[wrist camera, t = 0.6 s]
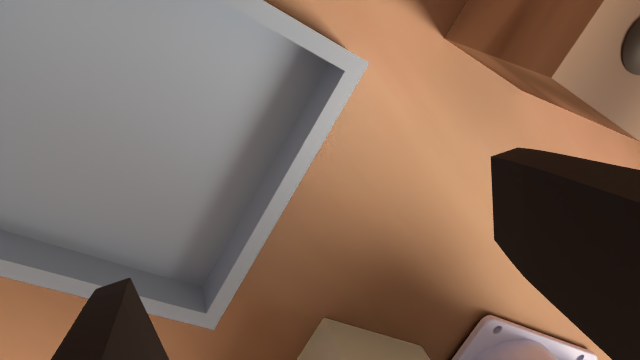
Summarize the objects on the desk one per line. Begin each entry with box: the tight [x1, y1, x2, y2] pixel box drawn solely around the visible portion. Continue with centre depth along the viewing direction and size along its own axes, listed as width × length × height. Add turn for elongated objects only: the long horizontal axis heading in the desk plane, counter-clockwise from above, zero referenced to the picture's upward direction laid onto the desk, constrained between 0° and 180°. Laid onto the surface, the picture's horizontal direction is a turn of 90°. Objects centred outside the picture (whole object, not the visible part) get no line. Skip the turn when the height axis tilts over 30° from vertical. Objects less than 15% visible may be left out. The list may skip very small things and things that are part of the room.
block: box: [445, 0, 640, 141], centre depth 17 cm, size 4×4×6 cm
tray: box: [0, 0, 369, 330], centre depth 17 cm, size 11×11×2 cm
